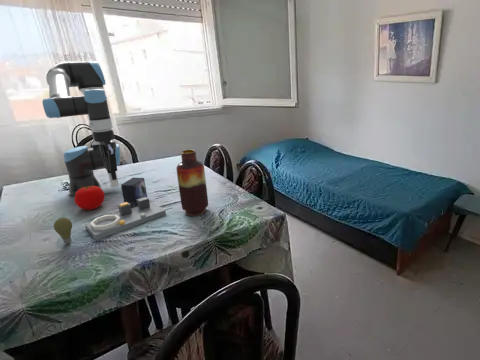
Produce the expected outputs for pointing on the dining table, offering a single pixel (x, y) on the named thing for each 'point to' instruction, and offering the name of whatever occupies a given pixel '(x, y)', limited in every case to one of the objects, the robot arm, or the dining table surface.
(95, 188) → the tomato
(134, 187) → the small box
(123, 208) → the tagged toggle
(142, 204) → the plain toggle
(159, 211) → the breaker panel
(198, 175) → the vase
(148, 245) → the dining table surface
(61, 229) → the light bulb
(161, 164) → the dining table surface
